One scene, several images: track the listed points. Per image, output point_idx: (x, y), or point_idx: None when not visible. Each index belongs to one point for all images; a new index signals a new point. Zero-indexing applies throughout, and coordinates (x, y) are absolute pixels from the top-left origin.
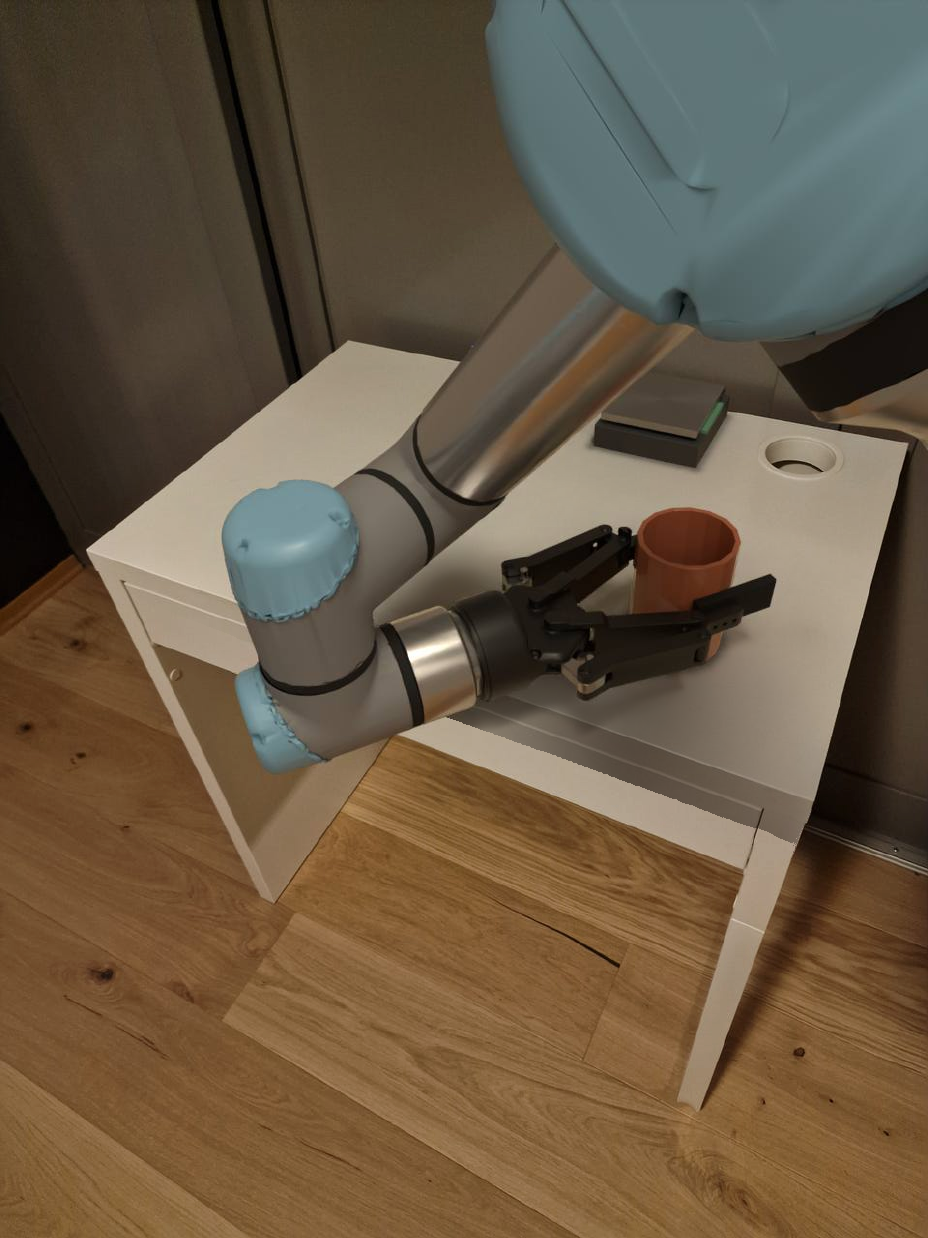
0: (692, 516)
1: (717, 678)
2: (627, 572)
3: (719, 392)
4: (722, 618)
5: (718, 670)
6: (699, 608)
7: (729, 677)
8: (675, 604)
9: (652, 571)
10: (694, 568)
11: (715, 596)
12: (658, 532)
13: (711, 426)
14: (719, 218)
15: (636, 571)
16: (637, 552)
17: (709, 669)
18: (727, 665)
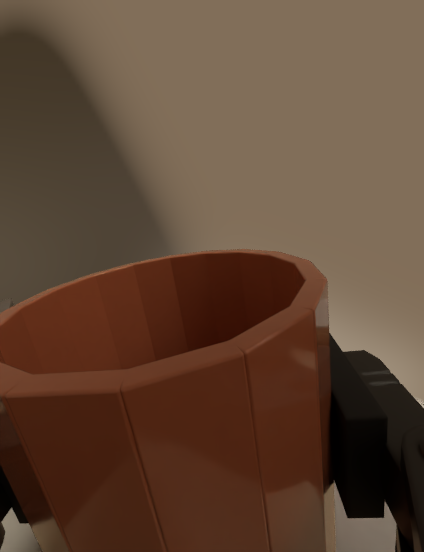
0: (105, 288)
1: (380, 548)
2: (11, 539)
3: (8, 302)
4: (412, 396)
5: (352, 528)
6: (387, 423)
7: (377, 518)
8: (311, 496)
9: (181, 462)
10: (317, 294)
11: (333, 367)
12: (48, 366)
13: None
14: None
15: (69, 547)
16: (18, 455)
17: (347, 548)
18: (339, 500)
